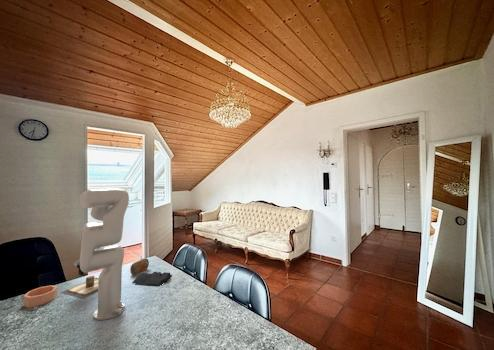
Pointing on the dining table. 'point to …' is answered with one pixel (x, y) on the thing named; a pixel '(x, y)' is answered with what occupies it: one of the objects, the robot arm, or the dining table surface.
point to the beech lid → (86, 286)
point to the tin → (139, 266)
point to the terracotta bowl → (39, 296)
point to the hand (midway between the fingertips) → (90, 271)
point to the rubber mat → (78, 294)
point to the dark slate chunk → (152, 279)
